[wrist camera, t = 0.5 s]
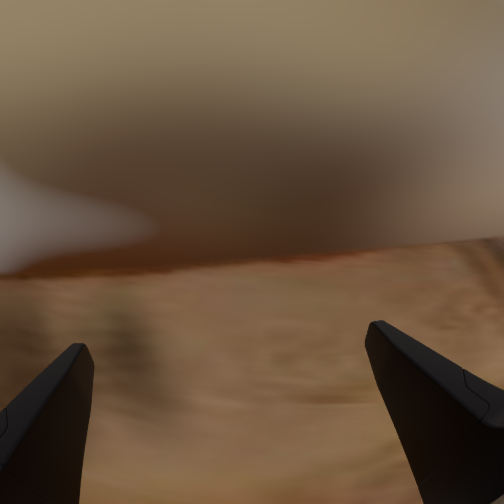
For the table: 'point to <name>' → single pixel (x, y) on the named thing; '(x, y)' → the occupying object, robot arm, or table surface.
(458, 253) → the table surface
